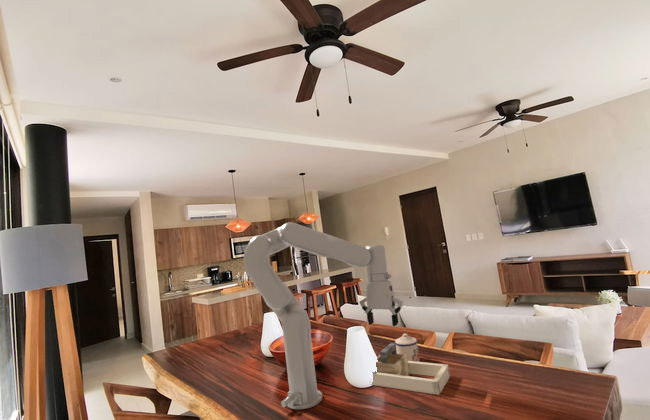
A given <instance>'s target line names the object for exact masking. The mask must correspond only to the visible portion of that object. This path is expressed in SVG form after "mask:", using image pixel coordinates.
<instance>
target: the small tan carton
mask: <svg viewBox="0 0 650 420" xmlns="http://www.w3.org/2000/svg"><path fill="white" fill-rule="evenodd" d="M377 360H378V362H376V367H377V372H379V373H387V374H395V375H403V376H410V375H411V374H410V372H409V365H408V358H407V355H406V354H397V350H396V344H395V342H394V343H393V342H390V343H389V344H388V345H387V346H385V347H384V348H383V349H381V350H380V351H379V355H377Z"/></svg>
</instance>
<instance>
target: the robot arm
mask: <svg viewBox="0 0 650 420" xmlns="http://www.w3.org/2000/svg"><path fill="white" fill-rule="evenodd" d="M289 247H291V248H294V249H297V250H301V251H304V252H306V253H309V254H311V255H315V256H319V257H323V258H328V259H332V260H337V261H340V262H343V263H346V264H347V265H348V266H351V267H357V268H364V267H366V273H367V282H366V286H365V287H366V288H365V297H364V298H363V299H361V300H359V304H360V306H361V308H362V310H363V311H364V313H365V314H366V318H367V319H366V320H367V324H368V325H372V324H374V323H375V322H374V321H375V320H374V312H372V311H373V310H389V312H391V314H392V315H391V321H392V324H391V325H392V326H393V327H396V326H397V325H398V323H399V318H398V317H399V312H400V311H401V310H402V307H403V305H404V301H402V300H401V299H399V298H397V297H396V296H395V291H394V287H393V284H392V281H391V280H389V279H391V278H392V275H391V274H390V273H388V267H387V257H386V256H387V255H386V250H385V249H386V248H385V246H384V245H383V244H373V245H372V244H370V245H367V246H363V245H360V244H357V243H354V242H352V241H348V240H346V239H342V238H339V237H336V236H333V235H331V234H328V233H326V232H321V231H319V230H317V229H313V228H310V227H307V226H304V225H301V224H298V223H296V222H291V221H290V222H285V223H284V224H282V225H281V226H279V227H277V228H275V229H273V230H270V231H267V232H265V233H262V234H258V235H255V236H253V237H252V238H251V239H250V240H249V242H248V244H247V246H246V248H245V251H244V254H243V266H244V270H245V273H246V274H247V276H248V278H249V279H250V281H251V282H252V284H253V285H254V287H255V289H256V290H257V291H258V293H259V294H260V296H261V297H262V299H263V301H264V302H265V304H266V306H267V307H268V308H269V309H271V310H272V312H273V313H274V314H275V316H277V318H278V320H279V321H280V322H281V327H282V334H283V345H284V353H285V363H286V371H287V372H286V373H287V381H288V389H289V391H287V396H286V397H285V398H284V399H283V400H282V401H280V405H281V407H282V408H286V407H288V408H289V409H293V410H305V409H310V408H312V407H315V406H317V405H319V404H320V403H321V401H322V400H323V393H322V392H321V391H320V390H319V389H318V386H317V376H316V368H315V361H314V352H313V344H312V335H311V334H312V328H311V320H310V317H309V315H308V312H307V311H306V310H305V308H304V307H303V306H302V305H301V304H300V302H299V301H298V299H297V298H296V296H295V295H294V294H293V292H292V290H290V288H289V287H288V285H287V284H286V283H285V282H283V281H282V279H281V278H280V277H279V275H278V274H277V272H276V271H275V269H274V268H273V266H272V264H271V263H270V259H269V258H270V256H271V255H273V254H276V253H278V252H280V251H282V250H285V249H287V248H289ZM396 305H397V306H396Z"/></svg>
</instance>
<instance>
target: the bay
mask: <svg viewBox="0 0 650 420" xmlns="http://www.w3.org/2000/svg"><path fill="white" fill-rule="evenodd" d="M408 365H409V372H410V374H409V376H403V375H395V374H387V373H379V372H376V371H375V372H372V373H373V382H372V384H371V383H370V385H371V386H377V387H382V388H383V387H385V388H390V389H397V390H402V391H403V390H404V391H410V392H416V393H422V394H431V395H438V396H440V394H441V393H442V391H443V389H444V388H445V385H446V384H447V383H448V381H449V379H450V378H451V374H450V366H449V364H444V363H433V362H426V361H425V362H424V361H419V362H415V361H408ZM411 374H412V375H419V376H427V377H434V378H427V377H426V378H425V377H418V376H410V375H411Z"/></svg>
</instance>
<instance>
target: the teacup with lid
mask: <svg viewBox="0 0 650 420" xmlns="http://www.w3.org/2000/svg"><path fill="white" fill-rule="evenodd" d="M394 343H395V344H396V354H406V355H407V358H408V361H415V362H421V361H420V355H419V354H420V353H419V347H418V346H419V345H418V339H416V337H413V336H410V335H408V333H403V334H402V336H400V337H398V338H396V339H395V341H394Z"/></svg>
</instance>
